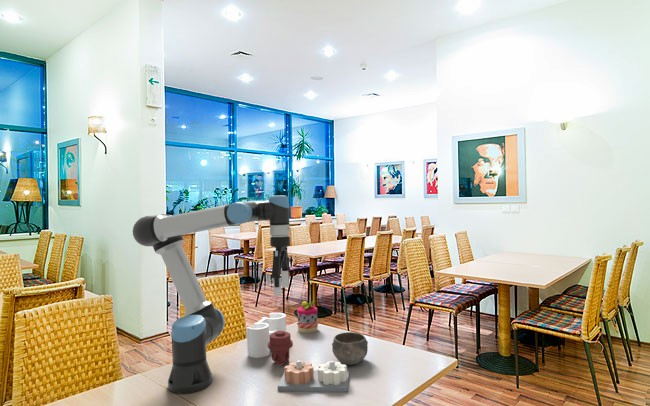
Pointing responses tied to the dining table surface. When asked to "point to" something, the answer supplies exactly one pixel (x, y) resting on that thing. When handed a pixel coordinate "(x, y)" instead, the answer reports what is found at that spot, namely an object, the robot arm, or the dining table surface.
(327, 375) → the gear
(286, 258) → the robot arm
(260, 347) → the white joined open cylinders
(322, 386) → the gear board
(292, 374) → the gear
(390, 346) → the dining table surface
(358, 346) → the bowl
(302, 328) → the cake
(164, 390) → the dining table surface
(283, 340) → the mechanical component
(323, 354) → the dining table surface
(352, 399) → the dining table surface
